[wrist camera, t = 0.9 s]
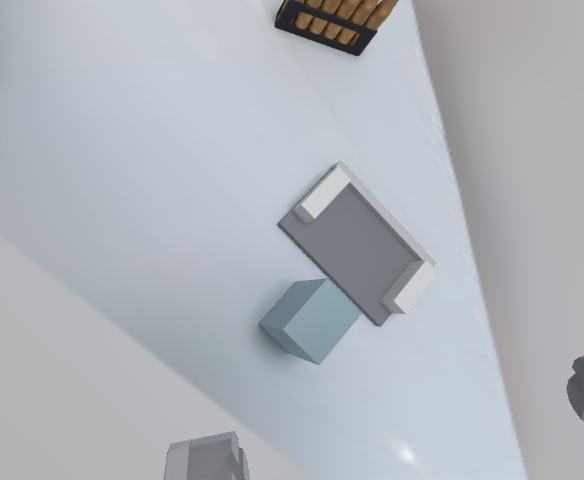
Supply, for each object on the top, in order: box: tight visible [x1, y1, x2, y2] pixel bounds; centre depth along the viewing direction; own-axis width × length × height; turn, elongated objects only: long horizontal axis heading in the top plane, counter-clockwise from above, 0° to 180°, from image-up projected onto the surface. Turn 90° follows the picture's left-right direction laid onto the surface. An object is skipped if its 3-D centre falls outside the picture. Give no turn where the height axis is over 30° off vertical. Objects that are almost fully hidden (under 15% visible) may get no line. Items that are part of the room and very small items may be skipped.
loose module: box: [258, 278, 362, 365], centre depth 43 cm, size 4×6×9 cm
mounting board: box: [277, 161, 438, 327], centre depth 49 cm, size 16×10×4 cm, turn 47°
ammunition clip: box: [275, 0, 399, 56], centre depth 47 cm, size 11×2×12 cm, turn 80°
